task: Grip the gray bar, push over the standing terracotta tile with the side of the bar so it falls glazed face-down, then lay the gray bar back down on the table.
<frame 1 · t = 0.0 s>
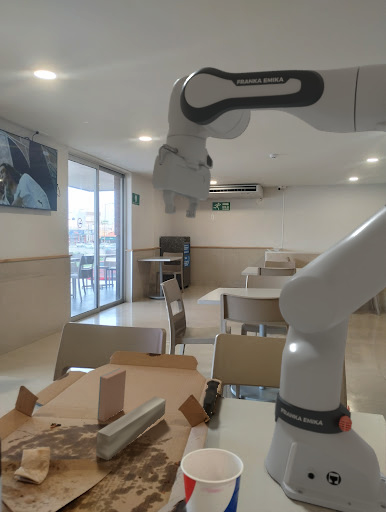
hand: (180, 215, 84), 48 cm above the table, tool pointing down, fingers open, 8 cm apart
tile: (110, 414, 88), on the table
hand tool: (211, 408, 97), on the table
gray bar: (133, 436, 80), on the table
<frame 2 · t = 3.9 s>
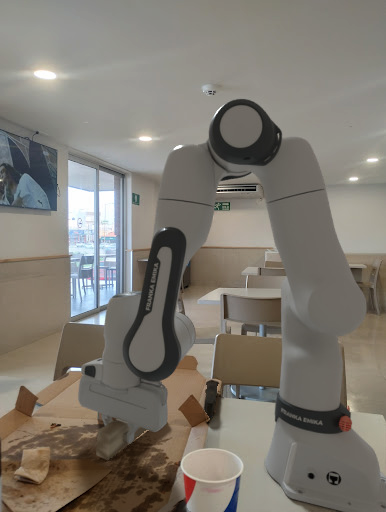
hand: (119, 438, 75), 2 cm above the table, tool pointing down, fingers closed on gray bar, 3 cm apart
gray bar: (134, 435, 80), on the table, touching gripper
everything else where it was.
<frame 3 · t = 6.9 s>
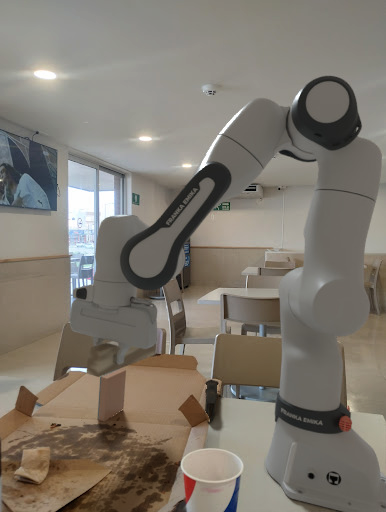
hand: (109, 360, 76), 17 cm above the table, tool pointing down, fingers closed on gray bar, 3 cm apart
gray bar: (124, 363, 81), point 15 cm above the table, touching gripper
everything else where it was.
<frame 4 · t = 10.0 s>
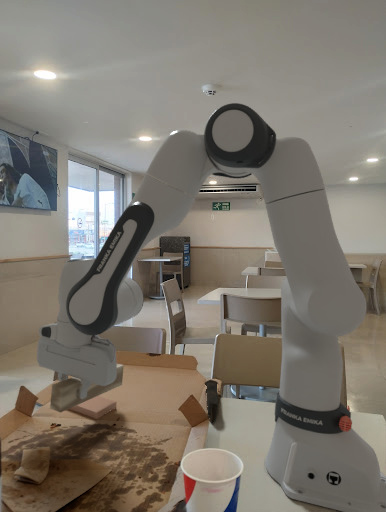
hand: (73, 394, 81), 7 cm above the table, tool pointing down, fingers closed on gray bar, 3 cm apart
tile: (106, 411, 89), on the table, tilted 90°
gray bar: (89, 395, 85), point 5 cm above the table, touching gripper
everything else where it was.
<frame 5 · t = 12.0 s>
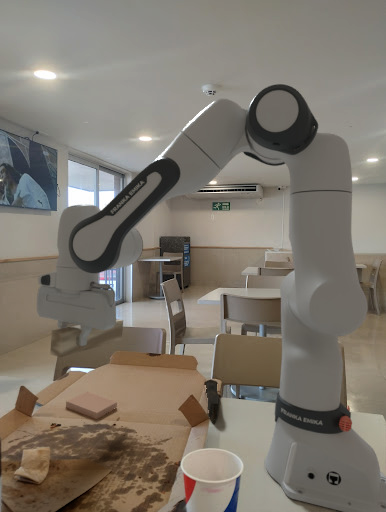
hand: (73, 343, 81), 18 cm above the table, tool pointing down, fingers closed on gray bar, 3 cm apart
gray bar: (89, 346, 86), point 17 cm above the table, touching gripper
everything else where it was.
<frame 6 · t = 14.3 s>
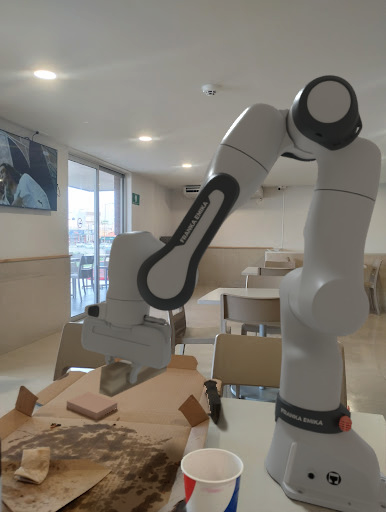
hand: (122, 379, 75), 14 cm above the table, tool pointing down, fingers closed on gray bar, 3 cm apart
gray bar: (136, 381, 79), point 12 cm above the table, touching gripper
when the fingers open (3 cm above the table, at t = 16.3 s): gray bar drops 2 cm, on the table.
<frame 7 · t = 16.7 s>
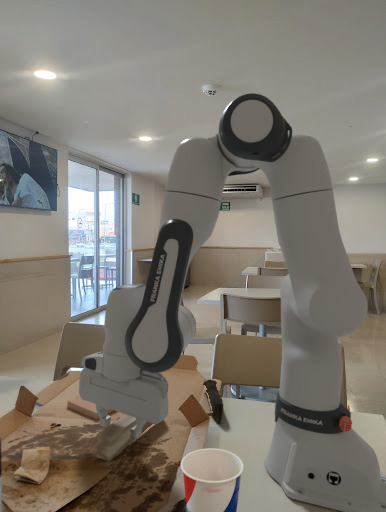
hand: (120, 431, 75), 3 cm above the table, tool pointing down, fingers open, 6 cm apart
gray bar: (133, 437, 80), on the table
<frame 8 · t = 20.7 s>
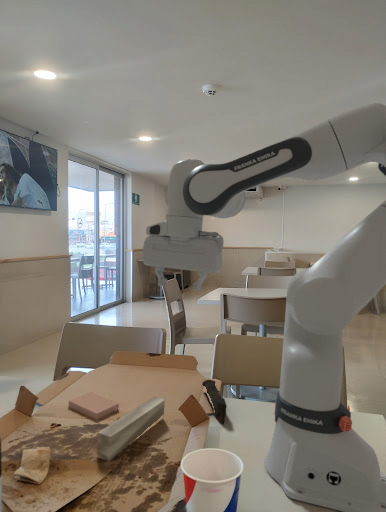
hand: (179, 288, 88), 31 cm above the table, tool pointing down, fingers open, 8 cm apart
at the end: tile tilted 90°; the gripper is holding nothing; gray bar inside the target area (0.2 cm from its centre), on the table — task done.
